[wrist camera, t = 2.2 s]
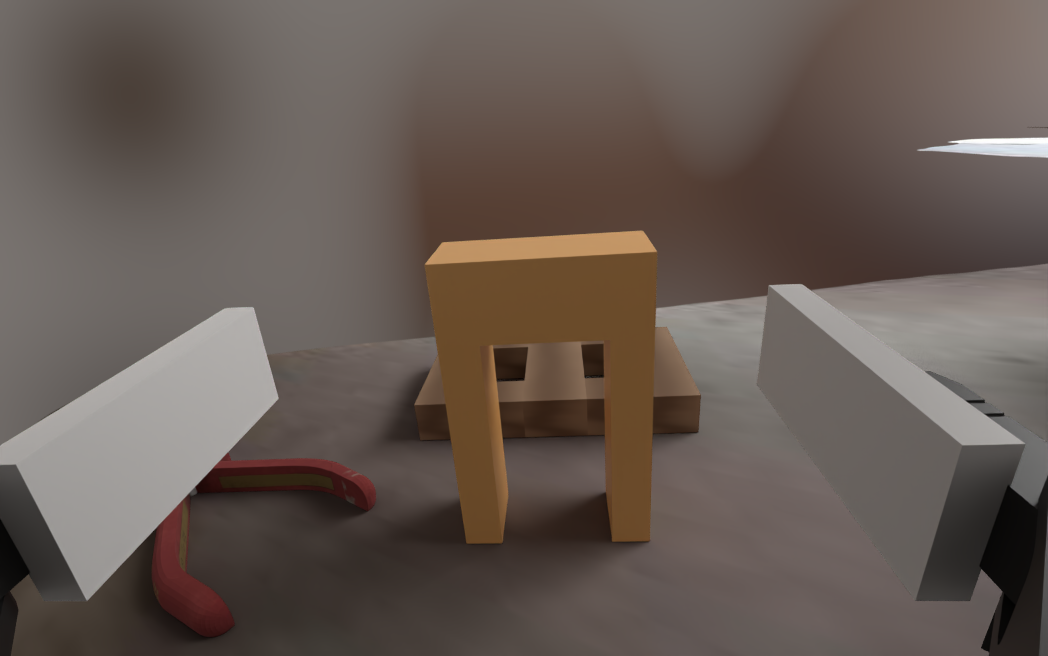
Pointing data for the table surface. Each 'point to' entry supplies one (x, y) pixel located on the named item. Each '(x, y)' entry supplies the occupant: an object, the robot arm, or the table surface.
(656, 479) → the table surface
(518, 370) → the wooden slotted board
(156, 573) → the pliers
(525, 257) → the orange arch-shaped block
